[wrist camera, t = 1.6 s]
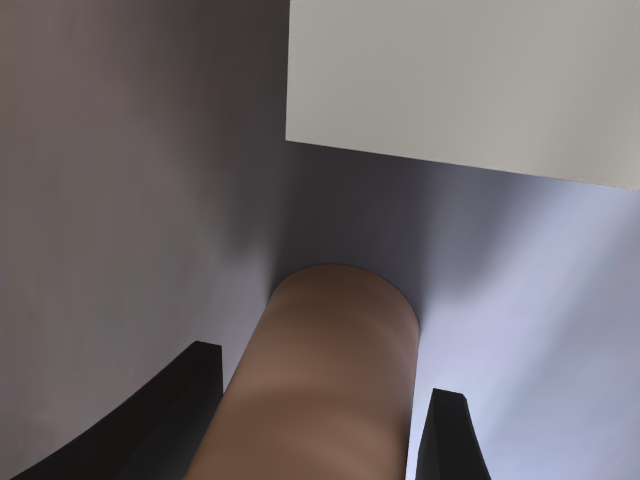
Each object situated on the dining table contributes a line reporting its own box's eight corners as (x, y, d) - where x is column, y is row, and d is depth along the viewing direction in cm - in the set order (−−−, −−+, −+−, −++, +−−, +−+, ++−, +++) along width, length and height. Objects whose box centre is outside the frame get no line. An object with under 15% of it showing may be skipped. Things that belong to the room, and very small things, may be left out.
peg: (432, 279, 13) (400, 663, 7) (407, 399, 15) (364, 783, 9) (267, 251, 14) (86, 577, 7) (265, 370, 16) (123, 709, 9)
